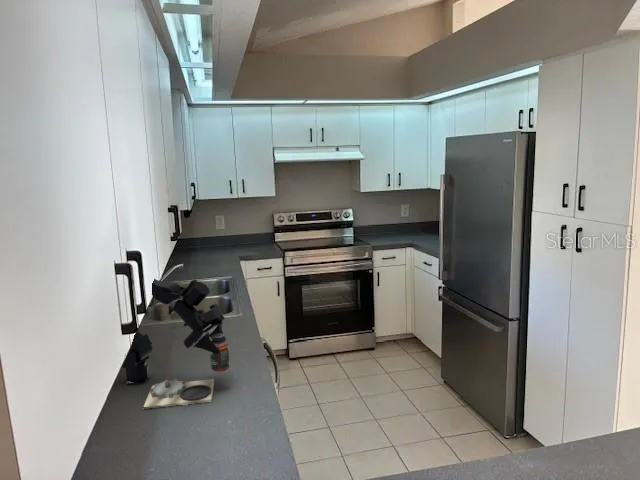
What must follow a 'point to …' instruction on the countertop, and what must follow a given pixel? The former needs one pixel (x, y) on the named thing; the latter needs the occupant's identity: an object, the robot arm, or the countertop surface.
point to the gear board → (180, 393)
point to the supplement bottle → (220, 353)
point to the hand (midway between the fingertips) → (223, 349)
